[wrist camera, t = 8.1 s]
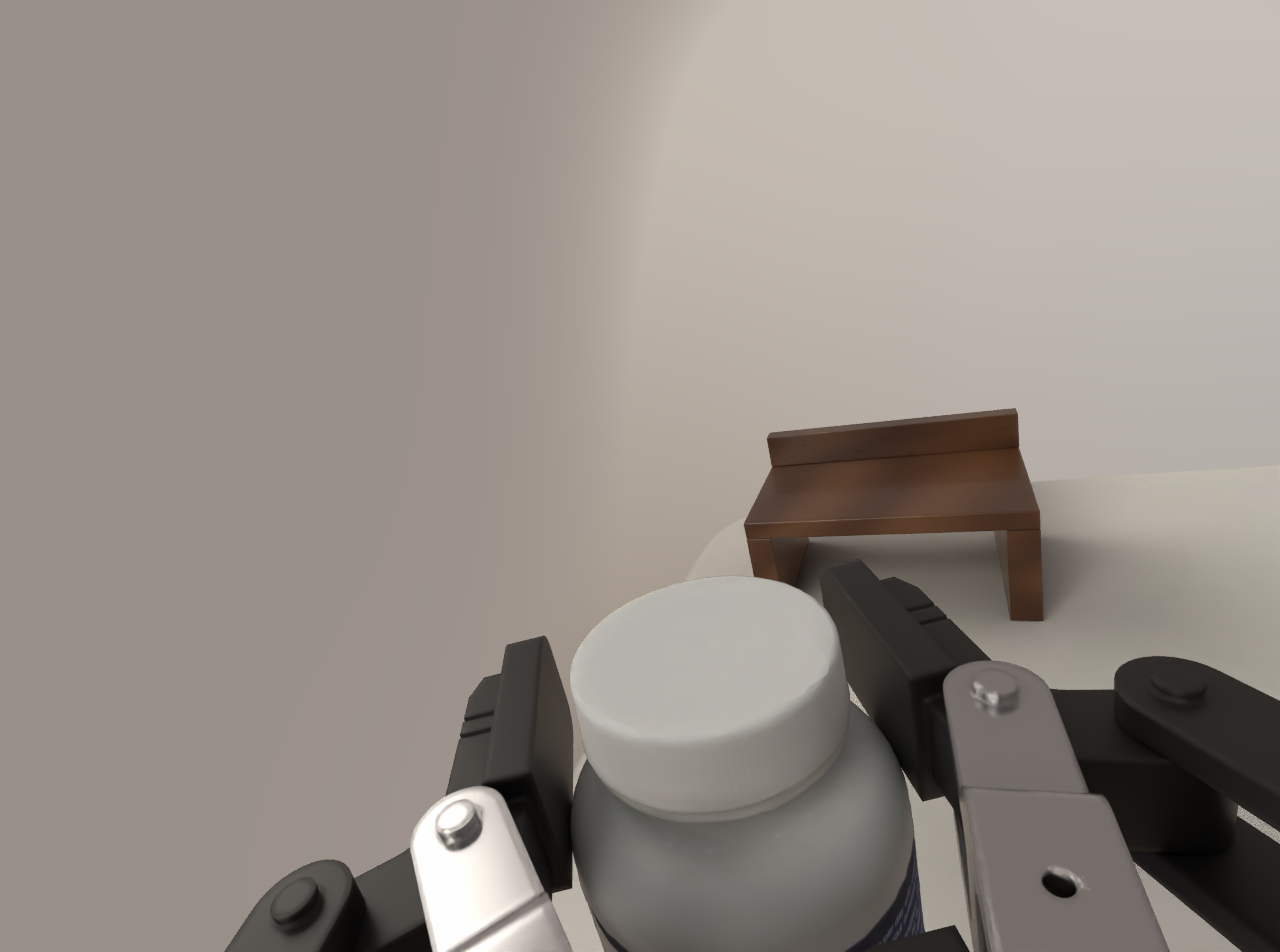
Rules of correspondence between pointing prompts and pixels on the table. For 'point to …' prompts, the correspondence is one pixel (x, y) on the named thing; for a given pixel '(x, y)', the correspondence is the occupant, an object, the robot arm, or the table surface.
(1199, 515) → the table surface
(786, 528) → the shelf
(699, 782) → the pill bottle
